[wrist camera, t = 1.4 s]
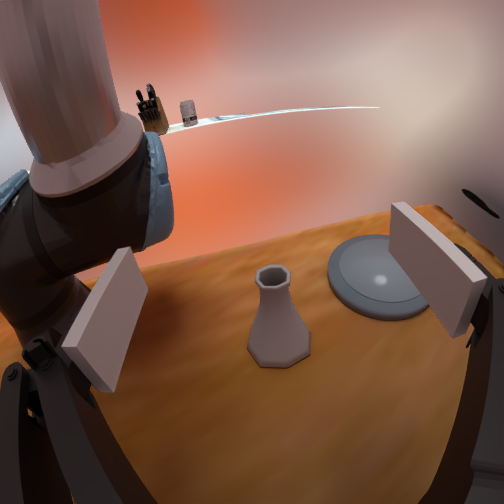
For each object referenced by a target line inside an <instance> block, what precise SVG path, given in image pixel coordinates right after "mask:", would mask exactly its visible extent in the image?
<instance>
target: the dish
mask: <svg viewBox="0 0 504 504" xmlns="http://www.w3.org/2000/svg"><path fill="white" fill-rule="evenodd" d="M388 246H389V236H387V235H363V236H358V237H355V238H351V239H349V240H347V241H345V242H343V243H342V244H340V245H339V246H338V247H337V248H336V249H335V250H334V251H333V253H332V254H331V256H330V258H329V263H328V281H329V284H330V287H331V289H332V291H333V293H334V294H335V295H336V297H337V298H338V299H339V300H340V301H341V302H342V303H343V304H345V305H346V306H347V307H348V308H350V309H352V310H353V311H355V312H357V313H359V314H361V315H364V316H367V317H370V318H374V319H378V320H392V321H395V320H403V319H407V318H411V317H413V316H416V315H418V314H420V313H421V312H423V311H424V310H425V309H426V308H427V307H428V306H429V304H428V303H427V301H426V300H425V299H424V297H423V296H422V294H421V293H420V292H419V290H418V289H417V288H416V286H415V285H414V283H413V282H412V281H411V279H410V278H409V277H408V275H407V274H406V273H405V272H404V270H403V269H402V268H401V266H400V265H399V264H398V263H397V261H396V260H395V259H394V257H393V256H392V255H391V254H390V252H389V251H388Z"/></svg>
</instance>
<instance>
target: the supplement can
mask: <svg viewBox="0 0 504 504" xmlns="http://www.w3.org/2000/svg"><path fill="white" fill-rule="evenodd" d="M180 109H181V114H182V119H183V124H184V126H185V127H189V126H193V125H196V124H197V123H198V121H197V116H196V111H195V106H194V102H193V100H188V101H184V102H181V103H180Z"/></svg>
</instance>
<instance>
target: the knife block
mask: <svg viewBox="0 0 504 504" xmlns="http://www.w3.org/2000/svg"><path fill="white" fill-rule="evenodd" d="M146 86H147V92H148V96H149V100H146V101H144V100H143V96H142V94H141V92H140V91H139V90H137V91H136V95H137V97H138V99H139V100H140V103H139V102H138V103H137V106H138V108H139V111H140V112H141V113H138V115H139V116H140V118H141V120H142V121H143V125H144V128H145V131H146V132H156V133H157V134H158V135H161V134H162V135H163V134H165V133H166V131H167V129H168V127H169V124H168V121H167V118H166V115H165V112H164V110H163V107H162V104H161V101H160V99H159V97H156V95H155V91H154V88H153V86H152V85H151V84H147V85H146Z"/></svg>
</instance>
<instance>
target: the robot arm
mask: <svg viewBox="0 0 504 504" xmlns="http://www.w3.org/2000/svg"><path fill="white" fill-rule="evenodd" d="M0 81H1V83H2V86H3V89H4V91H5V94H6V97H7V99H8V102H9V104H10V107H11V109H12V111H13V114H14V116H15V118H16V121H17V123H18V125H19V127H20V130H21V132H22V134H23V136H24V138H25V140H26V142H27V144H28V146H29V148H30V150H31V152H32V154H33V156H34V160H33V163H32V166H31V170H30V174H28V172H27V171H26V170H20V172H18V173H16V174H15V175H13V176H12V177H11V178H9V179H8V180H7V181H5V182H4V183H3V184H2V185H1V186H0V312H1V313H2V314H3V315H4V317H5V318H6V319H7V320H8V322H9V323H10V324H11V326H12V327H13V328H14V330H15V332H16V334H17V337H18V339H19V341H20V343H21V346H22V348H23V352H22V357H23V359H24V360H25V361H26V362H27V363H28V364H29V366H30V367H31V369H28V370H26V369H25V368H24V367H23V366H22V365H21V363H18V362H15V363H13V364H11V365H9V366H8V367H7V368H6V370H5V372H4V374H3V377H2V382H1V389H0V504H73V501H72V497H71V494H72V496H73V498H74V500H75V502H76V504H158V503H157V502H156V501H155V499H154V498H153V497H152V495H151V494H150V493H149V491H148V490H147V488H146V487H145V486H144V484H143V483H142V481H141V480H140V478H139V477H138V475H137V474H136V472H135V471H134V469H133V468H132V466H131V464H130V463H129V461H128V460H127V458H126V456H125V455H124V453H123V451H122V450H121V448H120V446H119V444H118V443H117V441H116V439H115V437H114V436H113V434H112V432H111V430H110V428H109V426H108V424H107V422H106V420H105V418H104V416H103V414H102V412H101V410H100V408H99V406H98V404H97V402H96V400H95V398H94V396H93V394H92V393H91V392H90V391H89V390H90V387H91V384H92V385H93V386H94V387H95V388H96V389H97V390H98V391H99V392H106V393H114V392H115V388H116V385H117V382H118V378H119V375H120V371H121V368H122V365H123V362H124V359H125V355H126V352H127V349H128V346H129V343H130V340H131V337H132V334H133V331H134V328H135V325H136V323H137V320H138V317H139V314H140V311H141V309H142V306H143V303H144V300H145V298H146V295H147V292H148V288H147V286H146V283H145V281H144V279H143V276H142V274H141V272H140V269H139V267H138V265H137V262H136V260H135V257H134V255H133V253H136V252H141V251H144V250H145V249H146V247H149V246H151V245H154V244H156V243H159V242H161V241H163V240H165V239H167V238H168V237H169V236H170V234H171V232H172V230H173V227H174V209H173V200H172V192H171V186H170V182H169V180H168V169H167V162H166V157H165V153H164V149H163V145H162V142H161V140H160V137H159V135H158V134H157V133H156V132H146V131H145V132H143V128H142V125H141V122H140V121H139V120H138V119H137V118H136V117H134V116H133V115H130V114H128V113H125V112H122V111H120V108H119V103H118V99H117V96H116V91H115V87H114V83H113V79H112V75H111V70H110V65H109V61H108V56H107V51H106V46H105V41H104V36H103V30H102V25H101V19H100V12H99V5H98V0H0ZM388 251H389V252H390V254H391V255H392V256H393V257H394V259H395V260H396V261H397V263H398V264H399V265H400V266H401V268H402V269H403V270H404V272H405V273H406V274H407V275H408V277H409V278H410V279H411V281H412V282H413V283H414V285H415V286H416V288H417V289H418V290H419V292H420V293H421V294H422V296H423V297H424V299H425V300H426V301H427V303H428V304H429V306H430V307H431V308H432V310H433V311H434V313H435V314H436V316H437V317H438V319H439V320H440V322H441V323H442V325H443V326H444V328H445V329H446V331H447V332H448V334H449V335H450V337H451V339H453V338H455V337H458V336H460V335H463V334H465V333H466V331H467V329H468V327H469V324H470V322H471V323H472V325H473V326H474V330H473V333H472V335H471V337H470V339H469V341H468V343H467V345H466V348H468V347H469V345H470V344H471V346H470V353H469V359H468V365H467V371H466V376H465V381H464V386H463V390H462V395H461V399H460V403H459V407H458V411H457V415H456V418H455V422H454V425H453V428H452V431H451V435H450V438H449V441H448V444H447V447H446V449H445V452H444V455H443V458H442V460H441V463H440V465H439V468H438V470H437V473H436V475H435V477H434V480H433V482H432V484H431V486H430V488H429V490H428V491H427V493H426V494H425V495H424V496H423V497H422V499H421V500H420V501H419V503H418V504H504V279H503V278H499V279H495V278H494V277H493V276H492V275H491V274H490V272H489V271H488V270H487V269H486V268H485V267H484V266H483V265H482V264H481V263H480V262H477V260H476V259H475V258H474V257H473V256H472V255H471V254H470V253H469V252H468V251H467V250H466V249H465V248H463V247H461V246H459V245H458V244H456V243H454V244H453V243H452V242H451V241H450V240H449V239H448V238H446V237H445V236H444V235H443V234H442V233H441V232H440V231H439V230H437V229H436V228H435V227H434V226H433V225H432V224H430V223H429V222H428V221H427V220H426V219H425V218H423V217H422V216H421V215H420V214H419V213H417V212H416V211H415V210H414V209H412V208H411V207H410V206H409V205H407V204H406V203H405V202H399V203H392V204H391V221H390V235H389V246H388ZM107 262H109V263H108V265H107V266H106V268H105V269H104V271H103V273H102V274H101V276H100V277H99V279H98V281H97V282H96V284H95V286H94V287H93V289H92V290H91V289H89V288H88V287H87V286H86V285H85V284H83V283H82V282H81V281H80V280H79V279H78V278H76V276H75V275H74V274H76V273H79V272H82V271H84V270H87V269H90V268H93V267H96V266H98V265H101V264H104V263H107ZM27 409H29V410H30V411H32V417H31V416H29V415H28V411H27ZM70 491H71V493H70Z"/></svg>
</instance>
